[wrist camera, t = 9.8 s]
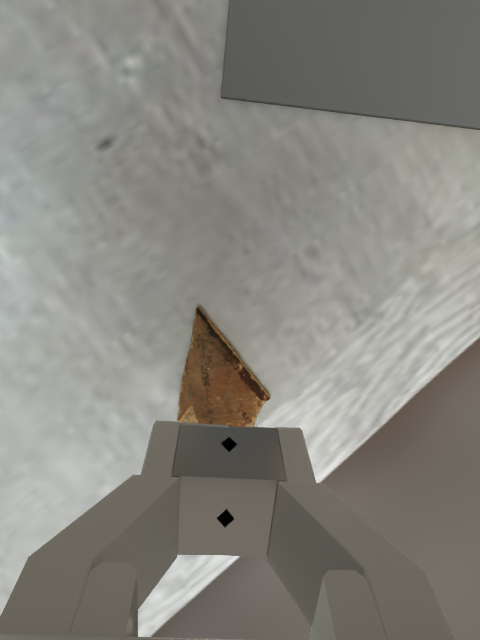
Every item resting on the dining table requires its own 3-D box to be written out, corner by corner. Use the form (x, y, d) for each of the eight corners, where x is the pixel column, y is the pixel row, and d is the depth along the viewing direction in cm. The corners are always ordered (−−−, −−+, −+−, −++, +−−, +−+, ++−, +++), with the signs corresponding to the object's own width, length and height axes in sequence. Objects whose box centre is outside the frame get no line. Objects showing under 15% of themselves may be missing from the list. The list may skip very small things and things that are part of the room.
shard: (198, 303, 37) (196, 308, 35) (286, 321, 38) (289, 327, 36) (175, 418, 40) (172, 428, 38) (258, 434, 40) (259, 444, 39)
